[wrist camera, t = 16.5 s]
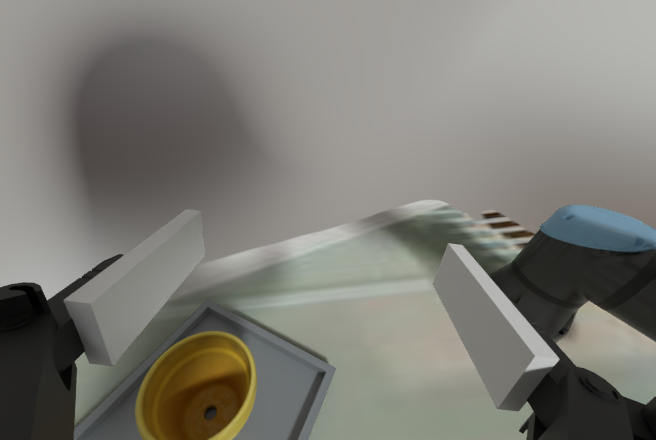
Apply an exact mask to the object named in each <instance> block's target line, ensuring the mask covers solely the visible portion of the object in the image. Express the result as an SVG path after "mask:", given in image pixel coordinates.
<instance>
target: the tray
mask: <svg viewBox="0 0 656 440" xmlns="http://www.w3.org/2000/svg"><path fill="white" fill-rule="evenodd" d="M207 331H222V332H227V333H230V334H232V335H235V336H236V337H238V338H239V339H241V340H242V341H243V342H244V343H245V344H246V345H247V346H248V348H249V349H250V351H251V353H252V355H253V357H254V360H255V365H256V371H257V390H256V397H255V402H254V405H253V408H252V411H251V413H250V415H249V417H248V419H247V421H246V423H245V424H244V426H243V427H242V429H241V430H240V431H239V433H238V434H237V435H236V436H235V437H234V438H233V439H232V440H308V438H309V436H310V433H311V431H312V428H313V425H314V423H315V420H316V418H317V415H318V413H319V410H320V408H321V405H322V403H323V400H324V397H325V395H326V392H327V390H328V387H329V385H330V382H331V380H332V377H333V375H334V372H335V369H336V368H335V367H333V366H331V365H329V364H327V363H325V362H324V361H322V360H320V359H318V358H316V357H314V356H312V355H310V354H309V353H307V352H305V351H303V350H301V349H299V348H297V347H296V346H294V345H292V344H290V343H288V342H286V341H284V340H283V339H281V338H279V337H277V336H275V335H273V334H271V333H269V332H268V331H266V330H264V329H262V328H260V327H258V326H256V325H255V324H253V323H251V322H249V321H247V320H245V319H243V318H242V317H240V316H238V315H236V314H234V313H232V312H230V311H228V310H227V309H225V308H223V307H221V306H219V305H217V304H215V303H214V302H212V301H210V300H207V301H206V302H205V303H203V304H202V305H201V306H200V307H199V308H198V309H197V310H196V311H195V312H194V313H193V314H192V315H191V316H190V317H189V318H188V319H187V320H186V321H185V322H184V323H183V324H182V325H181V326H180V327H179V328H178V329H177V330H176V331H175V332H174V333H173V334H172V335H171V336H170V337H169V338H168V339H167V340H166V341H165V342H164V343H163V344H161V345H160V346H159V347H158V348H157V349H156V350H155V351H154V352H153V353H152V354H151V355H150V356H149V357H148V358H147V359H146V360H145V361H144V362H143V363H142V364H141V365H140V366H139V367H138V368H137V369H136V370H135V371H134V372H133V373H132V374H131V375H130V376H129V377H128V378H127V379H126V380H125V381H124V382H123V383H122V384H121V385H119V386H118V387H117V388H116V389H115V390H114V391H113V392H112V393H111V394H110V395H109V396H108V397H107V398H106V399H105V400H104V401H103V402H102V403H101V404H100V405H99V406H98V407H97V408H96V409H95V410H94V411H93V412H92V413H91V414H90V415H89V416H88V417H87V418H86V419H85V420H84V421H83V422H82V423H81V424H80V425H79V426H77V427H76V428H75V429H74V440H143V439H142V437H141V435H140V433H139V431H138V428H137V424H136V418H135V406H136V399H137V395H138V392H139V389H140V386H141V384H142V382H143V380H144V378H145V376H146V374H147V373H148V371H149V369H150V368H151V367H152V365H153V364H154V363H155V362H156V360H157V359H158V358H159V357H160V356H161V355H162V354H163V353H164V352H165V351H167V350H168V349H169V348H170V347H172V346H173V345H175V344H176V343H177V342H179V341H181V340H183V339H185V338H187V337H189V336H191V335H194V334H197V333H201V332H207ZM216 412H217V411H216V408H214V407H211V408H209V409H208V410H207V411H206V413H205V417H206V419H207V420H210V419H212V418H213V417H214V416H215V415H216Z"/></svg>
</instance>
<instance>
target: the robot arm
mask: <svg viewBox="0 0 656 440" xmlns="http://www.w3.org/2000/svg"><path fill="white" fill-rule="evenodd" d="M204 256H205V246H204V236H203V225H202V213H201V211H198V210H190V209H186V210H185V211H183V212H182V213H180V214H179V215H178V216H176V217H175V218H174V219H172V220H171V221H170V222H168V223H167V224H166V225H164V226H163V227H161V228H160V229H159V230H157V231H156V232H155V233H153V234H152V235H151V236H149V237H148V238H147V239H145V240H144V241H143V242H141V243H140V244H139V245H137V246H136V247H134V248H133V249H132V250H131V251H129V252H128V253H126V254H125V255H122V254H119V255H116V256H114V257H112V258H109V259H107V260H105V261H103V262H102V263H100V264H99V265H97V266H96V267H95V268H93V269H92V271H89V272H88V273H86V274H84V275H83V276H82V278H79V279H77V280H76V281H75V282H73V283H72V284H70V285H69V286H67V287H66V288H65V289H63V290H62V291H60V292H59V293H57V294H56V295H55V296H53V297H52V298H50V299H49V300H46V297H45V295H44V293H43V291H42V289H41V286H40V285H38V284H35V283H17V284H11V285H7V286H3V287H0V440H74V421H75V400H76V378H77V367H76V364H75V362H74V361H75V360H76V359H77V358H78V357H79V356H80V355H81V354H82V353H83V352H84V351H85V354H86V356H87V359H88V361H89V363H90V364H99V365H108V366H113V365H114V364H115V363H116V362H117V361H118V359H119V358H120V357H121V356H122V355H123V353H124V352H125V351H126V350H127V349H128V347H129V346H130V345H131V344H132V343H133V341H134V340H135V339H136V338H137V337H138V335H139V334H140V333H141V332H142V331H143V329H144V328H145V327H146V326H147V325H148V323H149V322H150V321H151V320H152V319H153V317H154V316H155V315H156V314H157V313H158V311H159V310H160V309H161V308H162V307H163V305H164V304H165V303H166V302H167V301H168V299H169V298H170V297H171V296H172V295H173V293H174V292H175V291H176V290H177V289H178V287H179V286H180V285H181V284H182V283H183V281H184V280H185V279H186V278H187V277H188V275H189V274H190V273H191V272H192V271H193V269H194V268H195V267H196V266H197V265H198V263H199V262H200V261H201V260H202V259H203V257H204ZM433 286H434V288H435V290H436V291H437V293H438V295H439V297H440V299H441V301H442V303H443V305H444V307H445V309H446V311H447V313H448V315H449V317H450V319H451V320H452V322H453V324H454V326H455V328H456V330H457V332H458V334H459V336H460V338H461V340H462V342H463V344H464V346H465V348H466V349H467V351H468V353H469V355H470V357H471V359H472V361H473V363H474V365H475V367H476V369H477V371H478V373H479V375H480V377H481V378H482V380H483V382H484V384H485V386H486V388H487V390H488V392H489V394H490V396H491V398H492V400H493V402H494V404H495V406H496V407H497V409H502V410H511V411H519V410H520V409H521V408H522V407H523V405H524V404H525V403H526V401H528V403H529V404H530V406H531V407H532V409H533V411H534V412H533V413H532V415H531V416H530V417H529V418H528V419H527V421H526V422H525V423H524V424H523V425H522V427H521V428H520V430H519V431H520V432H521V433H524V432H525V431H526V429H528V432H527V440H656V397H654V398H653V399H652V400H651V401H650V402H649V403H647V404H646V405H645V404H642V403H639V402H637V401H634V400H631V399H629V398H626V397H623V396H622V395H621V394H620V393H619V392H618V391H617V390H616V389H615V388H614V387H613V386H612V385H611V384H610V383H608V382H607V381H606V380H605V379H603V378H602V377H600V376H598V375H597V374H595V373H593V372H591V371H589V370H587V369H584V368H580V367H576V366H575V365H574V363H573V362H572V361H571V360H570V359H569V358H568V357H567V356H566V355H565V353H564V352H563V351H562V350H561V349H560V348H559V347H558V346H557V344H556V342H558V341H559V340H560V339H562V338H563V337H564V336H565V335H566V334H567V333H568V331H569V329H570V327H571V324H572V322H573V320H574V318H575V315H576V313H577V311H578V309H579V308H580V307H581V306H582V305H584V304H585V303H586V302H587V301H590V302H592V303H594V304H595V305H597V306H598V307H600V308H602V309H603V310H605V311H607V312H608V313H610V314H612V315H613V316H615V317H616V318H618V319H620V320H621V321H623V322H624V323H626V324H628V325H629V326H631V327H632V328H634V329H636V330H637V331H639V332H641V333H642V334H644V335H645V336H647V337H649V338H650V339H652V340H653V341H655V342H656V229H654V228H653V227H651V226H648V225H645V224H643V222H641V221H639V220H637V219H634V218H632V217H629V216H627V215H624V214H620V213H618V212H614V211H611V210H607V209H603V208H599V207H594V206H586V205H568V206H564V207H562V208H559V209H558V210H557V211H555V213H554V214H553V215H552V216H551V217H550V218H549V219H548V220H547V221H546V222H544V223H543V224H542V225H541V226H540V230H539V231H538V232H537V233H536V234H535V236H534V237H533V238H532V239H531V240H530V241H529V243H528V244H527V245H526V246H525V247H524V248H523V250H522V251H521V252H520V253H519V254H518V255H517V257H516V258H515V259H514V260H513V261H512V262H511V263H510V264H509V265H507V266H505V267H503V268H501V269H499V270H497V271H496V272H494V273H492V274H490V275H487V273H486V272H485V271H484V270H483V269H482V268H481V266H480V265H479V264H478V263H477V262H476V260H475V259H474V258H473V257H472V256H471V255H470V253H469V252H468V251H467V250H466V249H465V248H464V246H463V245H458V244H450V243H448V245H447V248H446V250H445V253H444V256H443V258H442V261H441V263H440V266H439V268H438V271H437V274H436V276H435V279H434V281H433Z"/></svg>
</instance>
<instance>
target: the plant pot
mask: <svg viewBox="0 0 656 440" xmlns="http://www.w3.org/2000/svg"><path fill="white" fill-rule="evenodd" d="M256 390H257V371H256V365H255V360H254V357H253V355H252V353H251V351H250V349H249V348H248V346H247V345H246V344H245V343H244V342H243V341H242V340H241V339H239V338H238V337H236V336H235V335H232V334H230V333H227V332H222V331H207V332H201V333H197V334H194V335H191V336H189V337H187V338H185V339H183V340H181V341H179V342H177V343H176V344H175V345H173V346H172V347H170V348H169V349H168V350H167V351H165V352H164V353H163V354H162V355H161V356H160V357H159V358H158V359H157V360H156V362H155V363H154V364H153V365H152V367H151V368H150V369H149V371H148V373H147V374H146V376H145V378H144V380H143V382H142V384H141V386H140V389H139V392H138V395H137V399H136V406H135V418H136V424H137V428H138V431H139V433H140V435H141V437H142V439H143V440H232V439H233V438H234V437H235V436H236V435H237V434H238V433H239V431H240V430H241V429H242V427H243V426H244V424H245V423H246V421H247V419H248V417H249V415H250V413H251V411H252V408H253V405H254V402H255V397H256ZM211 407H214V408H216V411H217V412H216V415H215V416H214V417H213V418H212V419H210V420H207V419H206V417H205V413H206V411H207V410H208V409H209V408H211Z"/></svg>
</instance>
